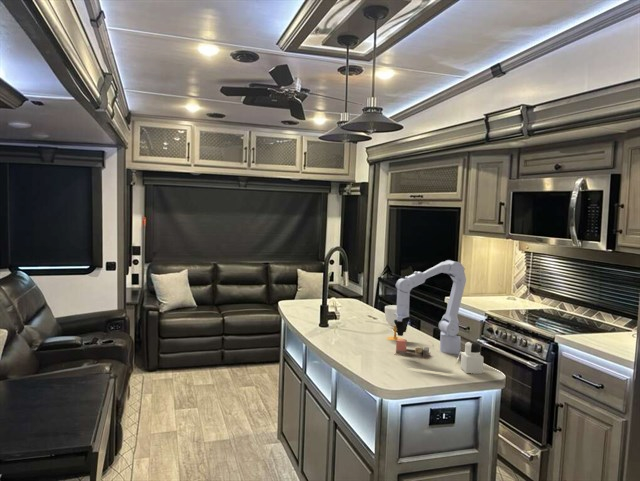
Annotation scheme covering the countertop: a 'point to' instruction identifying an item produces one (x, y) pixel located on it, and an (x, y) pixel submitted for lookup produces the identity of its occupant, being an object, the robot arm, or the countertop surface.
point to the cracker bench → (412, 353)
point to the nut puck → (419, 350)
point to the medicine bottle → (472, 359)
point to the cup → (391, 319)
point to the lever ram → (401, 345)
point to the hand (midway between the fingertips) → (401, 333)
